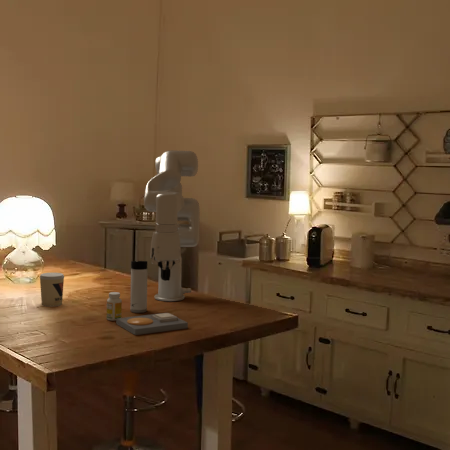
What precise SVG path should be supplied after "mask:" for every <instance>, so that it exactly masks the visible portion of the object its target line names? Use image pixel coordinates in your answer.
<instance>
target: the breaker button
mask: <svg viewBox="0 0 450 450" xmlns="http://www.w3.org/2000/svg"><path fill="white" fill-rule="evenodd" d="M162 313H163V314H160V313H154V314H155V316H156V317H158V318H160V319H165V318H173V317H174V316H175V315H174V314H172V313H170V312H162ZM169 313H170V314H169ZM171 314H172V315H171ZM173 315H174V316H173Z"/></svg>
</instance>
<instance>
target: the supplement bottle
mask: <svg viewBox="0 0 450 450" xmlns="http://www.w3.org/2000/svg"><path fill="white" fill-rule="evenodd" d="M120 296H121V293H120V292H116V291H111V292H108V298H107V300H106V320H108V321H116V318H122V309H123V308H122V306H123V305H122V302H123V301H122V299H121V298H120Z"/></svg>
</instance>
